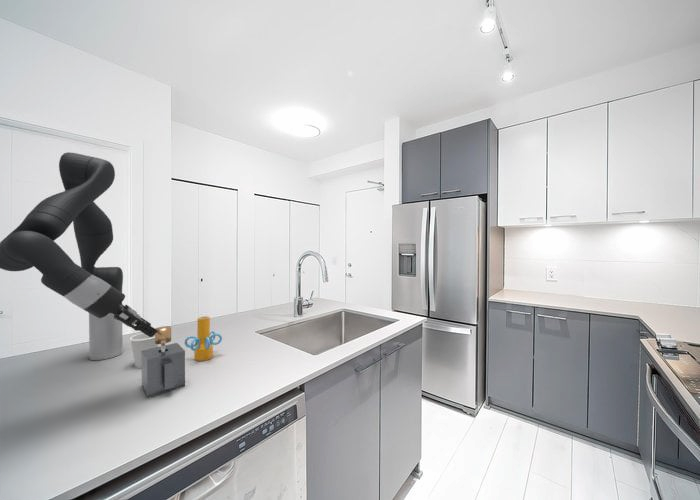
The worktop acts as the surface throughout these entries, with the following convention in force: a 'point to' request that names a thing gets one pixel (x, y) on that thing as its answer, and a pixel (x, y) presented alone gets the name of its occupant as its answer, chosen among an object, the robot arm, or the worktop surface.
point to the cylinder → (203, 340)
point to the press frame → (163, 369)
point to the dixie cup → (141, 346)
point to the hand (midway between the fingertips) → (151, 330)
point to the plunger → (163, 336)
